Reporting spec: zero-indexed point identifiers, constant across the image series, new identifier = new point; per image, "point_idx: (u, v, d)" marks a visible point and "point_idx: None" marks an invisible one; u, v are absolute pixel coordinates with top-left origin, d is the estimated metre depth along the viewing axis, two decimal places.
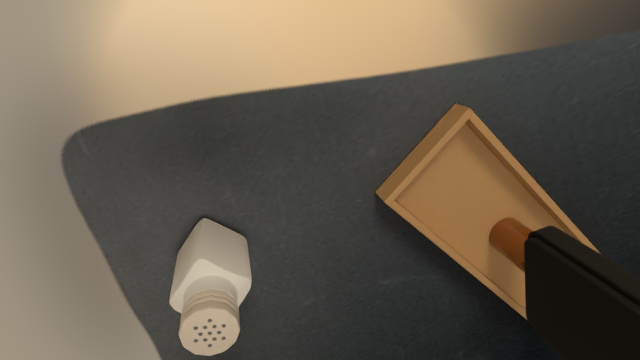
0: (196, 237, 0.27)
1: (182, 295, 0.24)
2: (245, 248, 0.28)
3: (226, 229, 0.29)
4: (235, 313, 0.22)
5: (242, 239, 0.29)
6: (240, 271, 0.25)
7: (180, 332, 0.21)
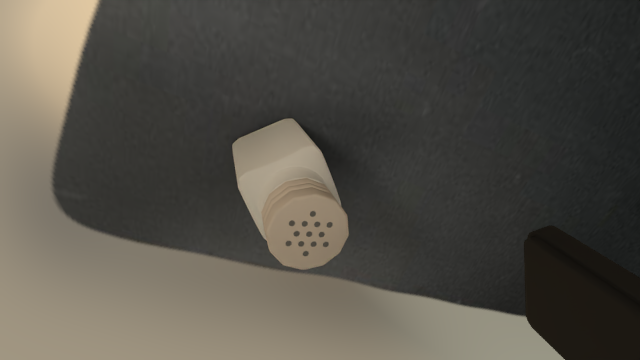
0: (234, 164, 0.20)
1: None
2: (292, 125, 0.21)
3: (261, 129, 0.22)
4: (312, 190, 0.15)
5: (285, 121, 0.22)
6: (292, 149, 0.18)
7: (280, 261, 0.15)
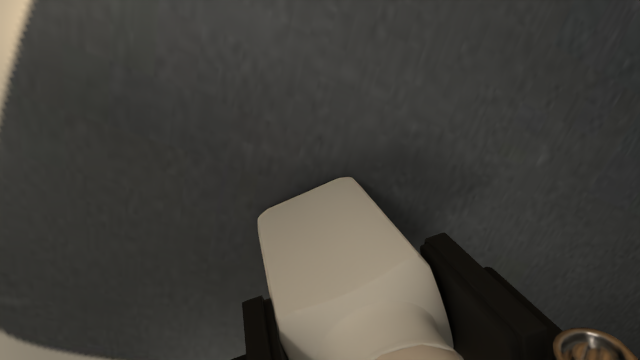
0: (264, 264, 0.12)
1: None
2: (358, 196, 0.13)
3: (304, 197, 0.14)
4: None
5: (342, 185, 0.14)
6: (378, 262, 0.09)
7: None
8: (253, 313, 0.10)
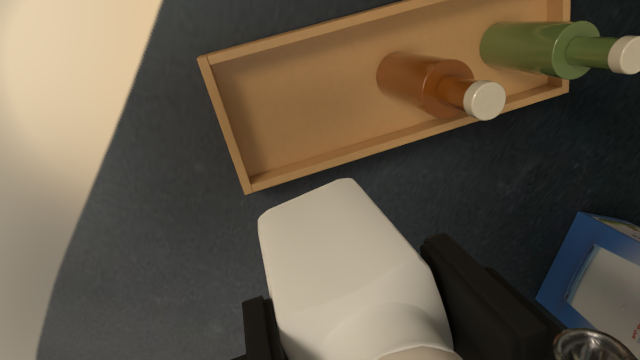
0: (264, 265, 0.12)
1: None
2: (358, 197, 0.13)
3: (304, 198, 0.14)
4: None
5: (342, 186, 0.14)
6: (378, 264, 0.10)
7: None
8: (253, 313, 0.10)
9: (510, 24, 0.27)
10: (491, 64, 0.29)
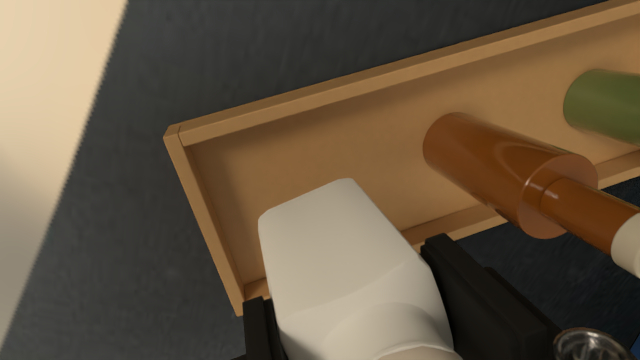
0: (264, 265, 0.12)
1: None
2: (358, 197, 0.13)
3: (304, 198, 0.14)
4: None
5: (342, 186, 0.14)
6: (378, 263, 0.10)
7: None
8: (253, 313, 0.10)
9: (617, 77, 0.19)
10: (580, 127, 0.21)
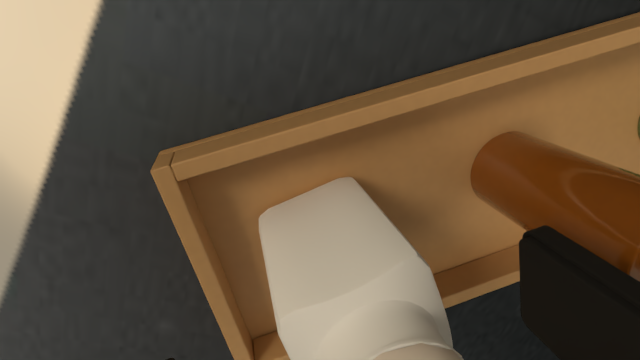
0: (265, 263, 0.12)
1: None
2: (358, 196, 0.13)
3: (305, 197, 0.14)
4: None
5: (342, 185, 0.14)
6: (378, 262, 0.10)
7: None
8: None
9: None
10: None
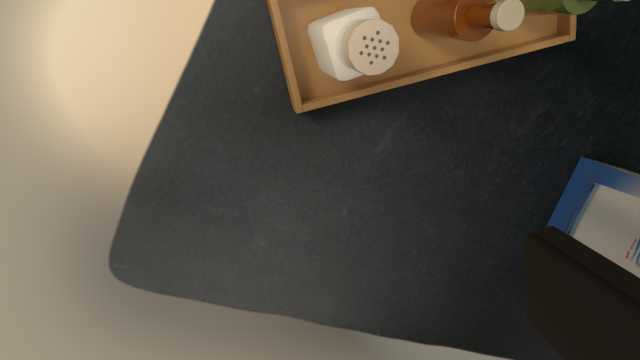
0: (313, 32, 0.29)
1: (339, 62, 0.26)
2: (353, 8, 0.29)
3: (329, 15, 0.30)
4: None
5: (346, 9, 0.30)
6: (359, 9, 0.26)
7: (355, 66, 0.24)
8: None
9: None
10: None
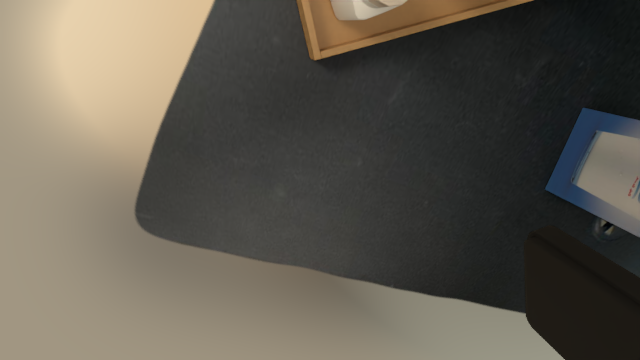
0: None
1: None
2: None
3: None
4: None
5: None
6: None
7: None
8: None
9: None
10: None
